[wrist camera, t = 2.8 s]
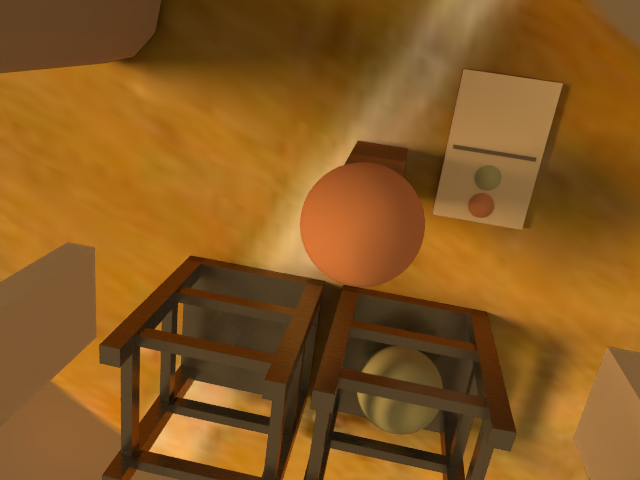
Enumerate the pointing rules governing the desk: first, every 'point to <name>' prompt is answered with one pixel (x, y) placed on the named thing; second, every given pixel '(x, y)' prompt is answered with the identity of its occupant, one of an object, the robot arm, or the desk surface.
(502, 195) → the card
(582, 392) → the desk surface
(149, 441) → the wireframe cube
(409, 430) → the ball sage
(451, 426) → the dark open frame crate
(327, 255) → the ball terracotta
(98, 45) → the water bottle
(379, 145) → the peg stand
